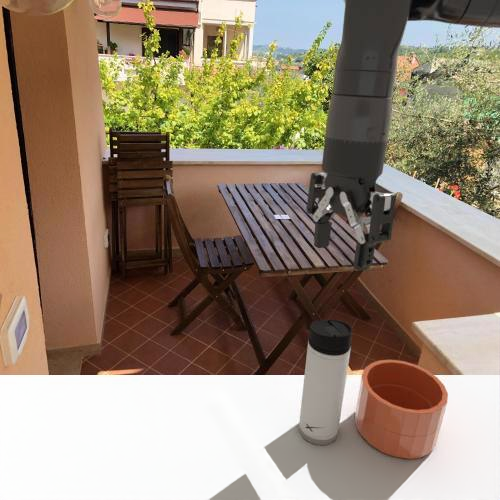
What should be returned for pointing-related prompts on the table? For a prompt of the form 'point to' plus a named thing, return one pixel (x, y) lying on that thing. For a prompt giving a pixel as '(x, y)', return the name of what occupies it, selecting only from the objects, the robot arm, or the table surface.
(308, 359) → the travel mug
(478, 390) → the table surface
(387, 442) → the planter
